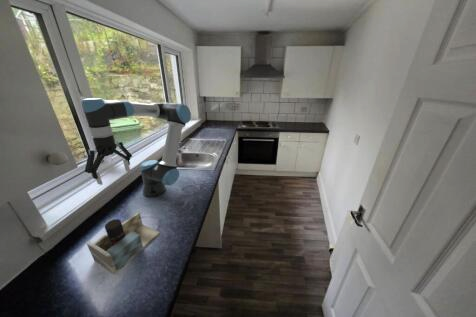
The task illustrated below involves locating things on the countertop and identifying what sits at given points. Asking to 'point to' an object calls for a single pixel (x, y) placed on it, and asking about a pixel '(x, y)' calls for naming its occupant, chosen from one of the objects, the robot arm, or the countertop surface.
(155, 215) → the countertop surface
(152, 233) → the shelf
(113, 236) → the deodorant
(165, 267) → the countertop surface
